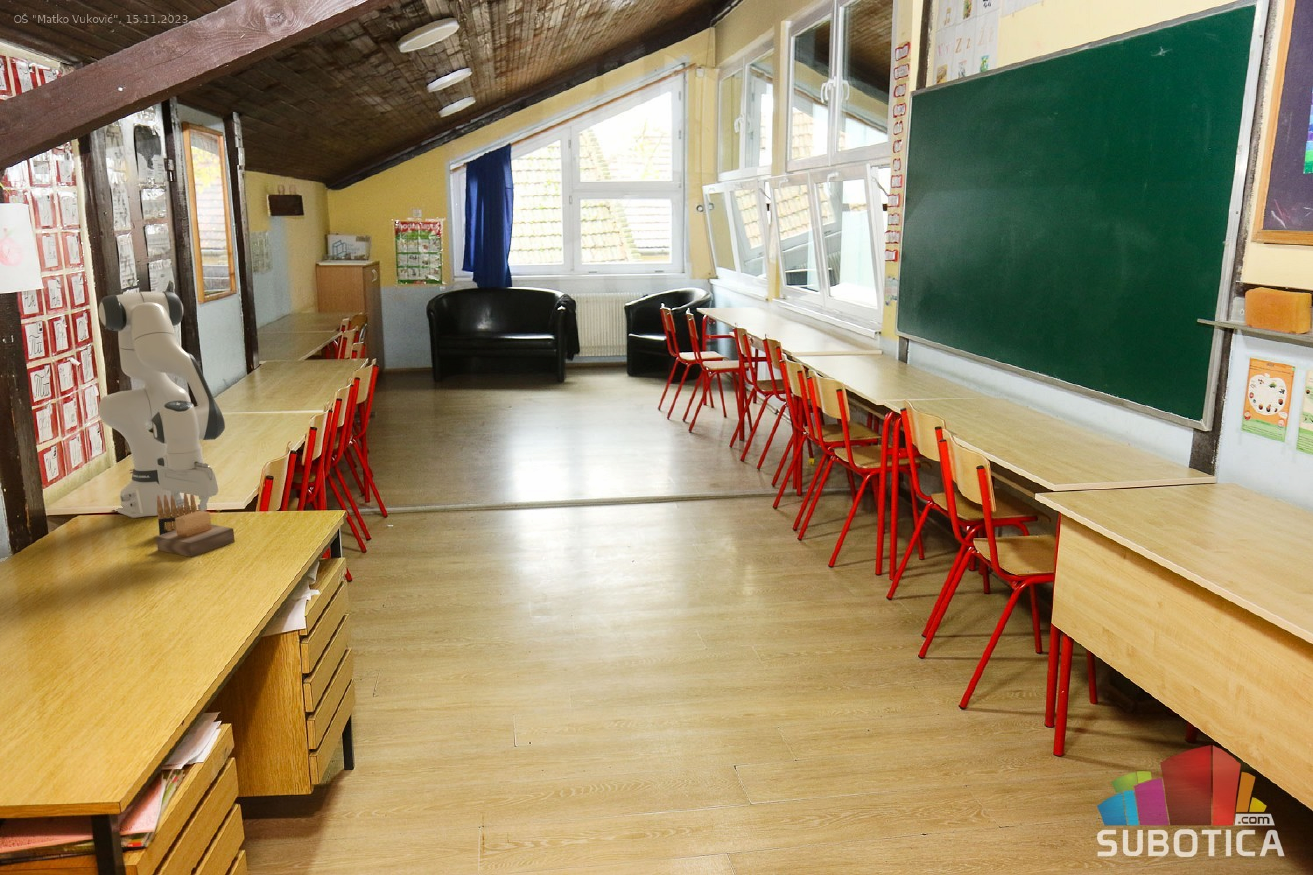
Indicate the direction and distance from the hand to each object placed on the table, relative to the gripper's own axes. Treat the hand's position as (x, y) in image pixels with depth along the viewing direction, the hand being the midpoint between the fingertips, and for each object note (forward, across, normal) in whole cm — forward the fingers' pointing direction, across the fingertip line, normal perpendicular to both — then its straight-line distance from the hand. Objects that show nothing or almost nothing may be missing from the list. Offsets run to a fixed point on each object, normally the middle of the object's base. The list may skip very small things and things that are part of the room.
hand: (191, 508), depth 269 cm
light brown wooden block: (+7, 0, 0) cm, 7 cm away
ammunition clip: (+12, +14, -6) cm, 19 cm away
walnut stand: (+11, -1, 0) cm, 11 cm away
